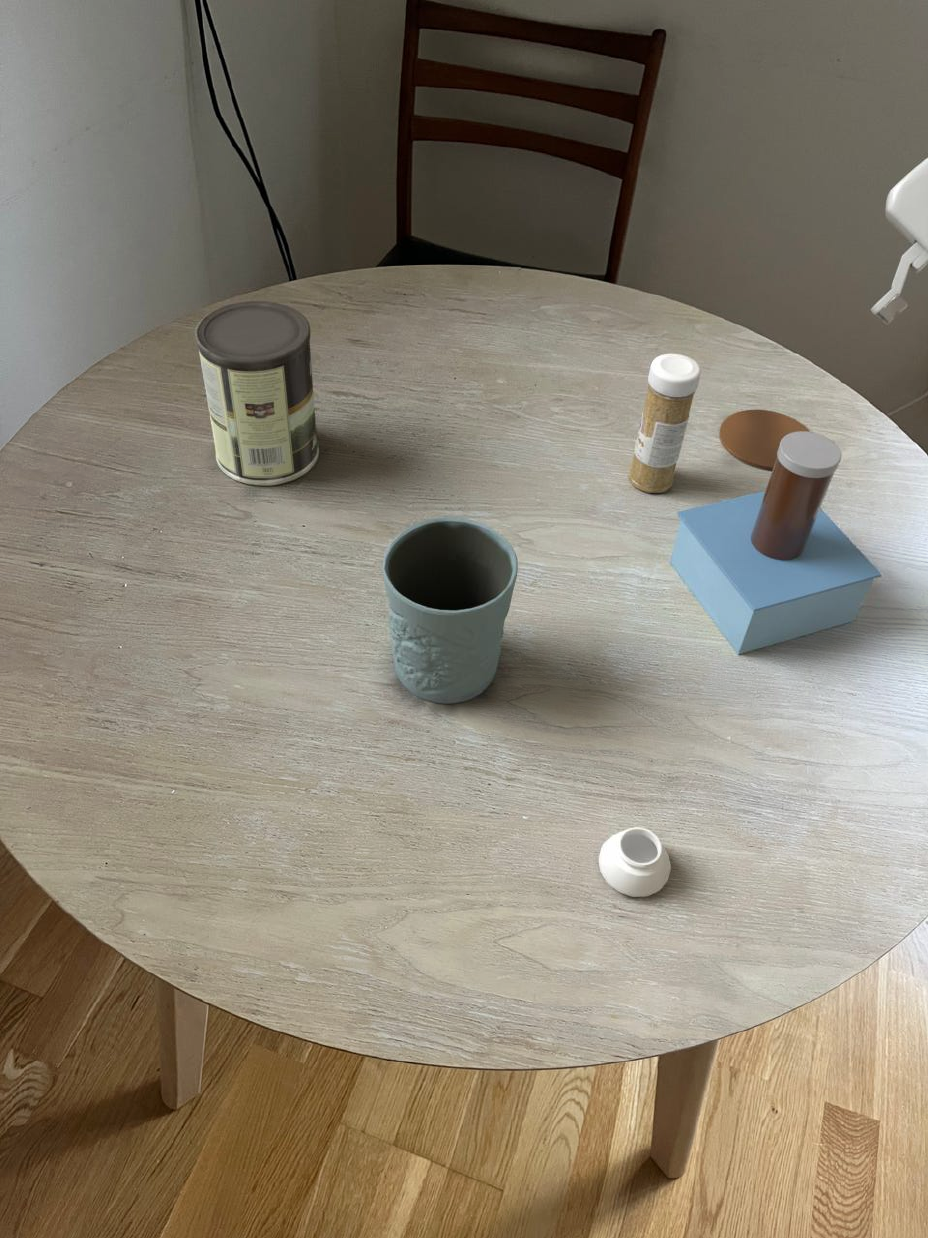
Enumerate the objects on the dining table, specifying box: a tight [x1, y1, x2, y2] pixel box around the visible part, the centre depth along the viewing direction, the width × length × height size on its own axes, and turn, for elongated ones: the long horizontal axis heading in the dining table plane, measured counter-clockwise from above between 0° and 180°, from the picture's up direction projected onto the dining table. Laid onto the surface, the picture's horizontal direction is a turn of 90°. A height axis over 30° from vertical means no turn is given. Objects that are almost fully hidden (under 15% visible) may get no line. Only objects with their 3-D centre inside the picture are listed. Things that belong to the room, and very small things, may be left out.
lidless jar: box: [598, 826, 672, 898], centre depth 73 cm, size 5×3×5 cm
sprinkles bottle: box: [628, 353, 702, 494], centre depth 99 cm, size 5×5×13 cm
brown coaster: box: [718, 409, 811, 471], centre depth 109 cm, size 10×10×1 cm
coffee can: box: [194, 300, 320, 487], centre depth 99 cm, size 10×10×14 cm
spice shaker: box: [751, 431, 842, 560], centre depth 86 cm, size 5×5×10 cm
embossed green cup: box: [382, 516, 519, 705], centre depth 82 cm, size 10×10×12 cm
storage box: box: [669, 490, 883, 655], centre depth 92 cm, size 13×13×6 cm
